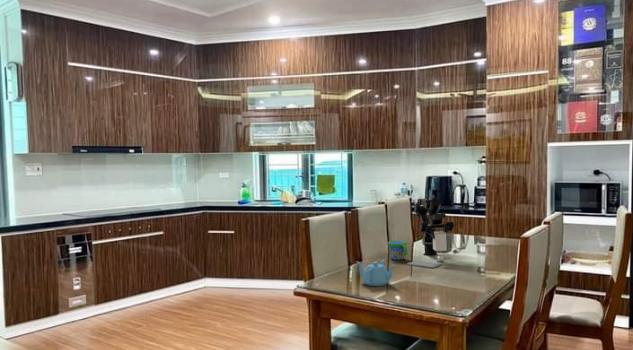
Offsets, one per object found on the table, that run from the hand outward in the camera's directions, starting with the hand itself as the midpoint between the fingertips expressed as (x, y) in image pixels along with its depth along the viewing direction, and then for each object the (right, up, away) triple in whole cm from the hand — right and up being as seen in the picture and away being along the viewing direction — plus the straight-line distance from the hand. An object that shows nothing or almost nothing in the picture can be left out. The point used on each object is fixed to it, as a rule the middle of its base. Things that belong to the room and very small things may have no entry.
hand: (440, 238), depth 258 cm
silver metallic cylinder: (+1, -14, +2) cm, 14 cm away
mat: (-10, -14, -5) cm, 18 cm away
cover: (0, -7, +1) cm, 7 cm away
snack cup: (-21, -14, +13) cm, 29 cm away
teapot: (-41, -16, -39) cm, 59 cm away
